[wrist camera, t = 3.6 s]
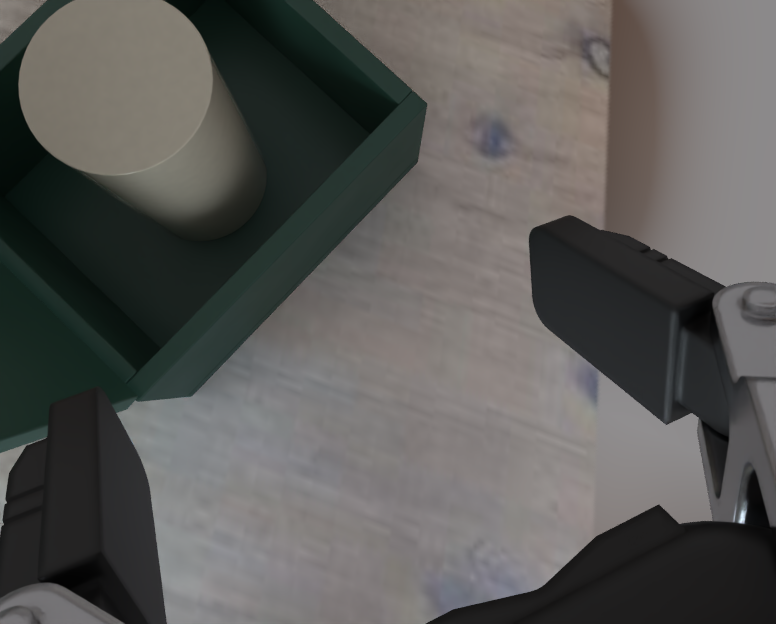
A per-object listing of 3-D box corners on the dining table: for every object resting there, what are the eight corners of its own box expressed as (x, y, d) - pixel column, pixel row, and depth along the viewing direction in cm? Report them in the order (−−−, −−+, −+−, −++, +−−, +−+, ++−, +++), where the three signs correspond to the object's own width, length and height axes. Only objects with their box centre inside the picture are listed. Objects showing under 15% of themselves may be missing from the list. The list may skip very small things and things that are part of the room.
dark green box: (219, -20, 33) (176, -124, 26) (418, 162, 32) (428, 103, 25) (-10, 202, 31) (-117, 153, 25) (191, 397, 30) (137, 402, 24)
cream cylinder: (201, 87, 31) (116, -48, 21) (294, 174, 31) (252, 77, 21) (107, 179, 31) (-23, 84, 21) (201, 268, 30) (114, 215, 20)
